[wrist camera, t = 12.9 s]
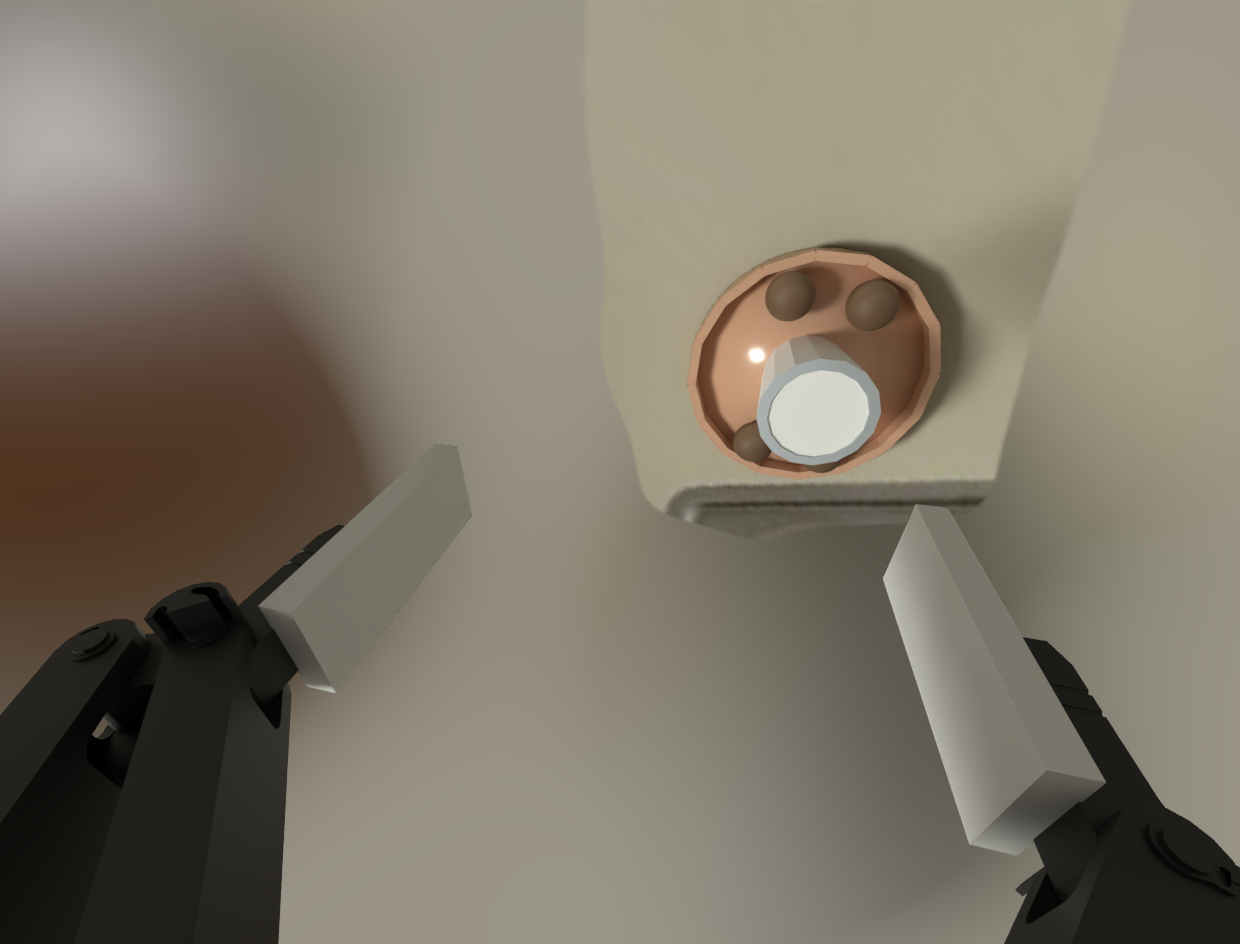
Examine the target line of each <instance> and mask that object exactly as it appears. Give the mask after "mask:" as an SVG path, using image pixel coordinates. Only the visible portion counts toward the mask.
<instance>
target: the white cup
mask: <svg viewBox="0 0 1240 944" xmlns="http://www.w3.org/2000/svg"><path fill="white" fill-rule="evenodd" d="M880 414H881V406H880V396H879V390H878V389H877V388H876V386H875V385H874V383H873V382H872V380H871V379H870V377H869V376H868V374H867V373H866V372H865V371H864V370H863V369H862V368H861V367H860V366H859V365H858V364H857V363H856V362H854V361H853V360H852V359H851V358H850V357H849V356H848V355H847V354H846V353H845V352H844V351H843V350H842V349H841V348H840V347H839V346H838V345H837V344H835V343H833V342H831V341H830V340H828V339H826V338H824V337H822V336H812V335H803V336H799V337H796V338H792V339H789V340H787V341H786V342H784V343H783V344H781V345H780V346H779V347H777V348H776V349H774V351H773V352H772V354H771V355H770V357H769V358H768V360H767V361H766V363H765V367H764V372H763V376H762V382H761V389H760V396H759V402H758V409H757V416H756V419H757V424H758V428H759V432H760V437H761V438H762V439H763V441H764V442H765V443H766V444H767V446H768V447H769V448H770V449H771V451H772V452H773V453H775V454H777V455H779V456H781V457H782V458H784V459H786V460H788V461H790V462H793V463H800V464H807V465H818V464H824V463H830V462H835V461H838V460H840V459H842V458H844V457H846V456H847V455H849V454H851V453H853V452H855V451H857V450H858V449H859V448H860V447H861V446H862V445H863V444H864V443H865V442H866V441H867V439H868V438H869V437H870V436H871V435H872V434H873V433H874V430H875V427H876V425H877V422H878V420H879V417H880Z"/></svg>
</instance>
